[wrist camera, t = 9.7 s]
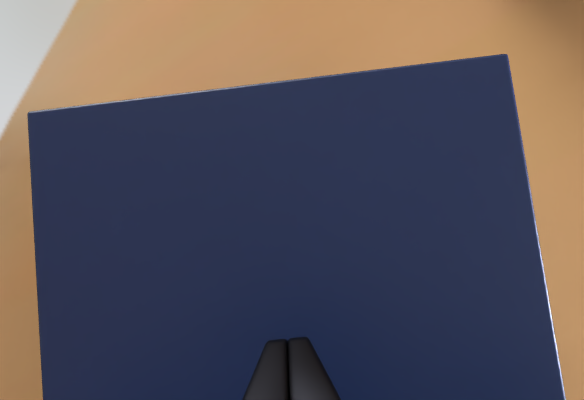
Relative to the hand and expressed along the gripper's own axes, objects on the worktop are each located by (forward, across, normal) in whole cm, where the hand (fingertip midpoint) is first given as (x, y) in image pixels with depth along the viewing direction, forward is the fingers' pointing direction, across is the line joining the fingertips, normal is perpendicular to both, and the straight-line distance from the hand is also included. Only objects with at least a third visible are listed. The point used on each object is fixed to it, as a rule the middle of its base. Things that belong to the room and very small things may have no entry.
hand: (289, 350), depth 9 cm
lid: (+2, 0, +2) cm, 3 cm away
